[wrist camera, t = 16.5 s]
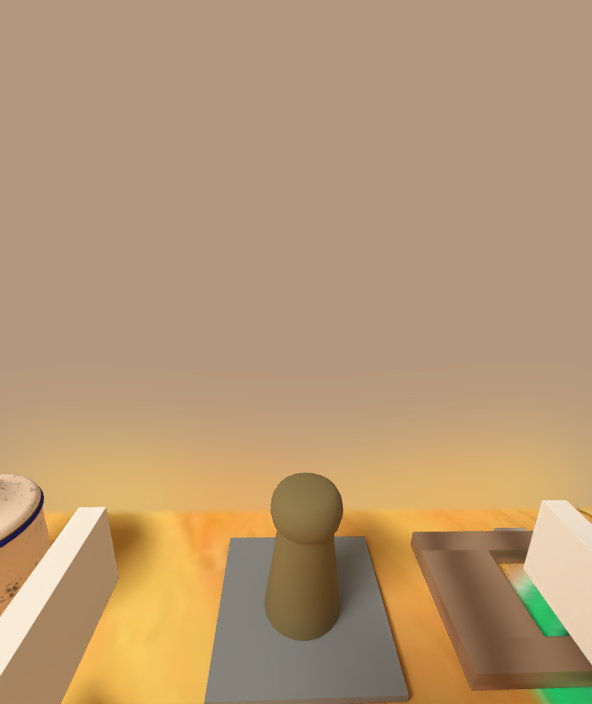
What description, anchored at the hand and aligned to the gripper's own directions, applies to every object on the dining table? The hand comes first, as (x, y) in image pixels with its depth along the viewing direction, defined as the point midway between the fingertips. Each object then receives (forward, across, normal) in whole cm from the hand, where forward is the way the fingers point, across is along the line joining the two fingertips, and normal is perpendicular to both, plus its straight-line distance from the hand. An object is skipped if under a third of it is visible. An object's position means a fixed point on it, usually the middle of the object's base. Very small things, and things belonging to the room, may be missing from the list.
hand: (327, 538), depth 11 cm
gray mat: (+13, 0, -20) cm, 24 cm away
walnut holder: (+13, +21, -20) cm, 32 cm away
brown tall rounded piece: (+13, 0, -20) cm, 23 cm away
